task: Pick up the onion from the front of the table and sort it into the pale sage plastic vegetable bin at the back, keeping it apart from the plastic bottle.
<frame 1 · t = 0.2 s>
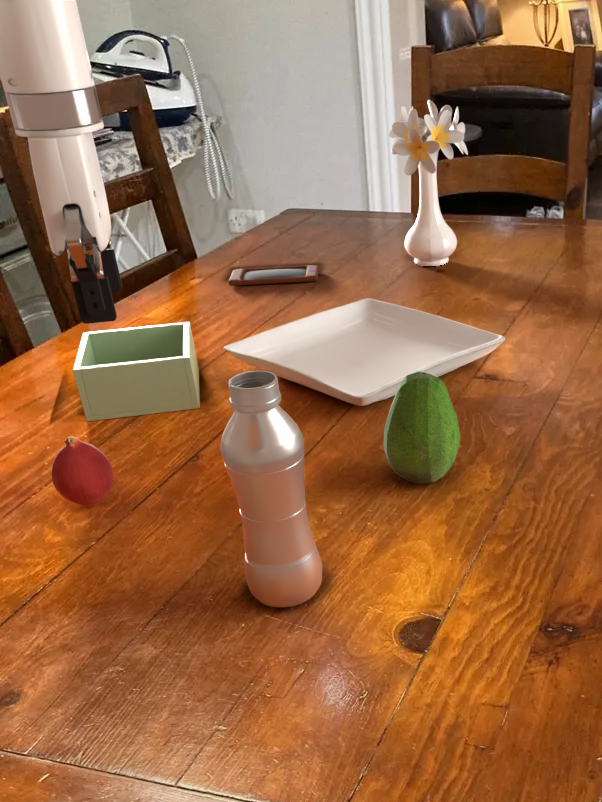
hand: (103, 305, 92), 18 cm above the table, tool pointing down, fingers open, 9 cm apart
flower vase: (433, 264, 166), on the table
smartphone: (275, 279, 161), on the table
onion: (92, 508, 97), on the table
avocado: (424, 480, 99), on the table
veg bin: (145, 394, 121), on the table
plastic bottle: (287, 597, 82), on the table
square plate: (366, 367, 126), on the table
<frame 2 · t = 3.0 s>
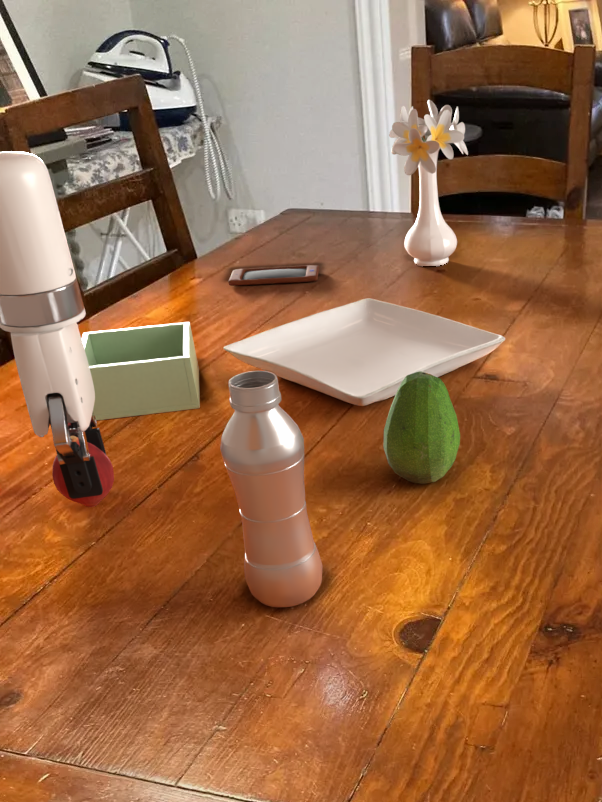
hand: (89, 478, 95), 3 cm above the table, tool pointing down, fingers closed on onion, 5 cm apart
onion: (93, 507, 97), on the table, touching gripper
everything else where it was.
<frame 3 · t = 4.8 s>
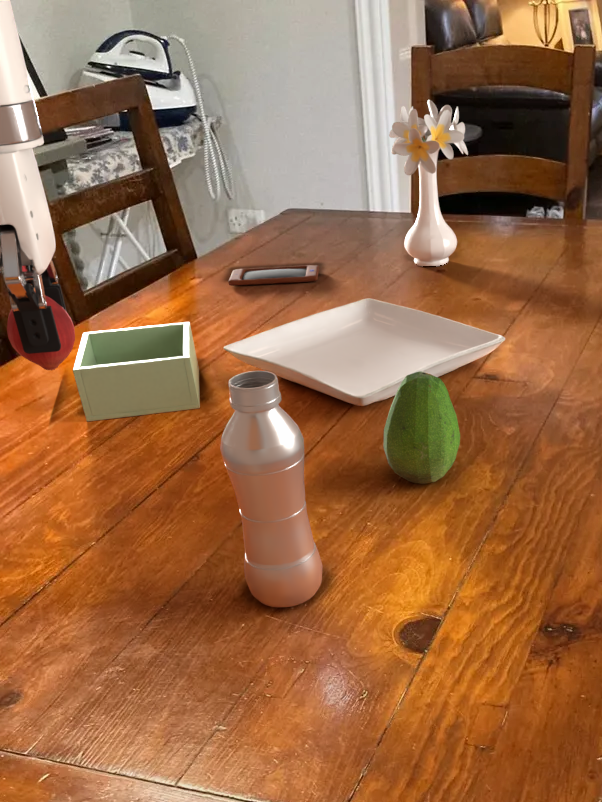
hand: (47, 337, 88), 17 cm above the table, tool pointing down, fingers closed on onion, 5 cm apart
onion: (52, 371, 90), point 14 cm above the table, touching gripper
everything else where it was.
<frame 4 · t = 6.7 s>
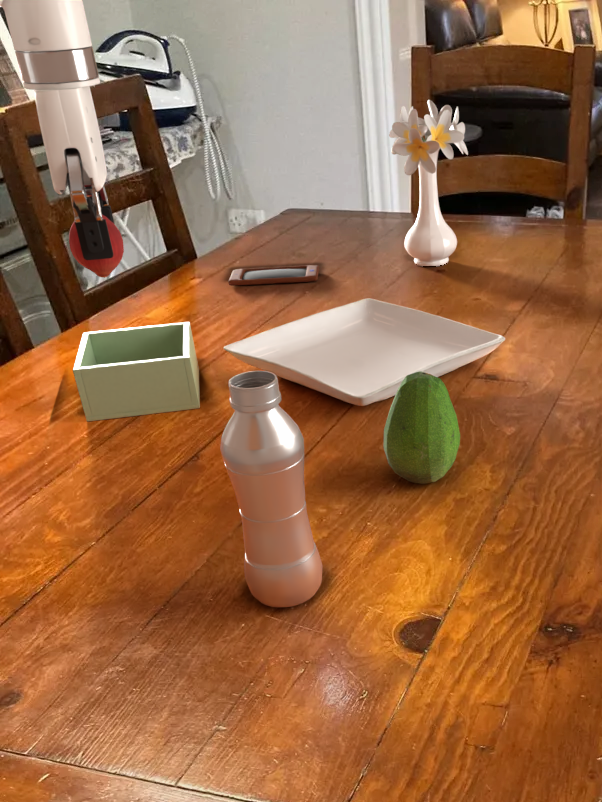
hand: (101, 249, 106), 19 cm above the table, tool pointing down, fingers closed on onion, 5 cm apart
onion: (104, 278, 108), point 16 cm above the table, touching gripper
everything else where it was.
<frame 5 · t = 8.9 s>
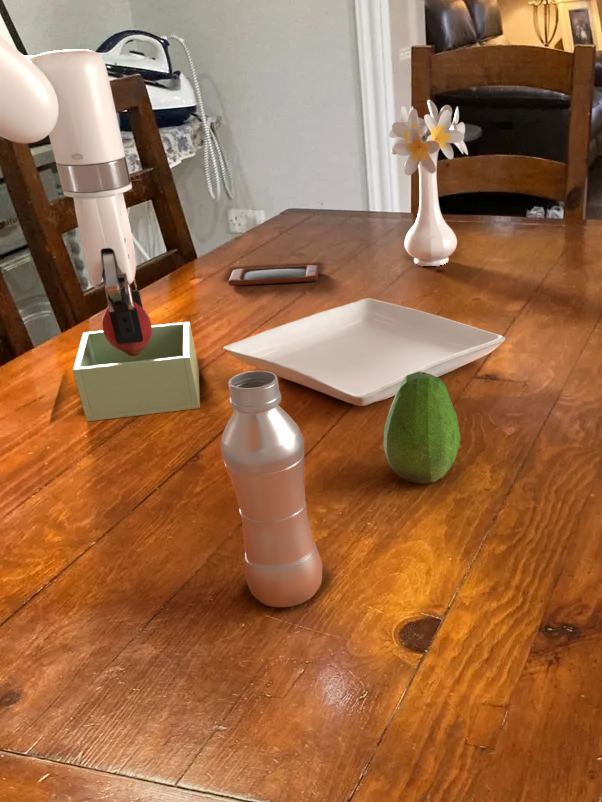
hand: (131, 331, 116), 8 cm above the table, tool pointing down, fingers closed on onion, 5 cm apart
onion: (134, 357, 118), point 5 cm above the table, touching gripper
everything else where it was.
when the fingers open (5 cm above the table, at t = 11.2 s): onion stays where it is, resting on veg bin.
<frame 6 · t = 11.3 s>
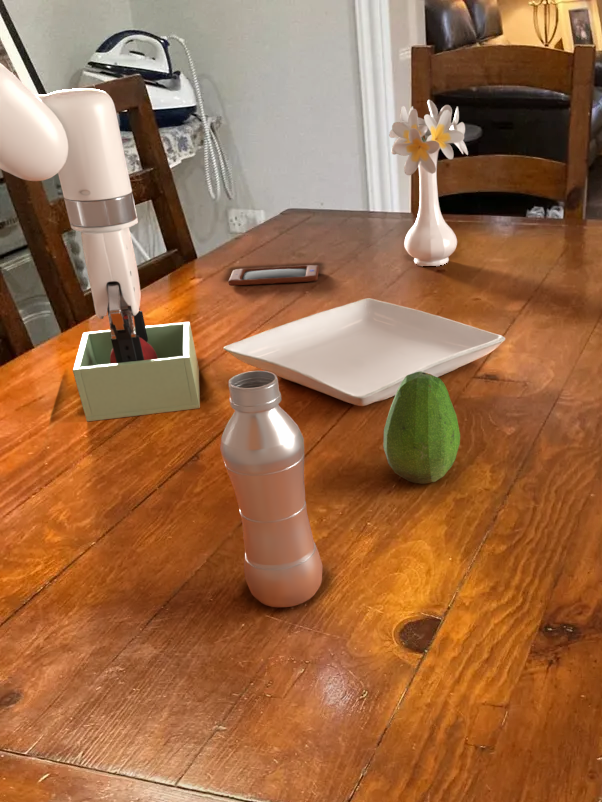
hand: (134, 355, 118), 5 cm above the table, tool pointing down, fingers open, 9 cm apart
onion: (141, 391, 120), resting on veg bin
everything else where it was.
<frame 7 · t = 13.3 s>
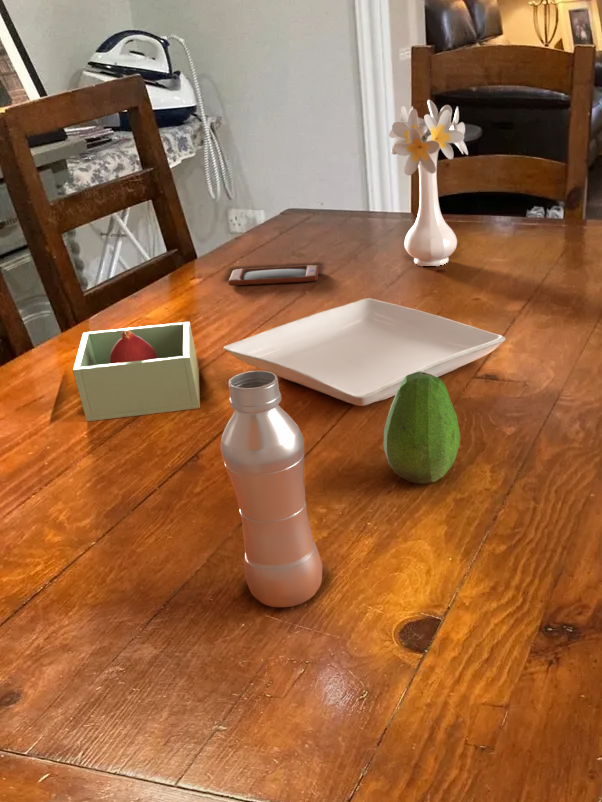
nothing on the table moved.
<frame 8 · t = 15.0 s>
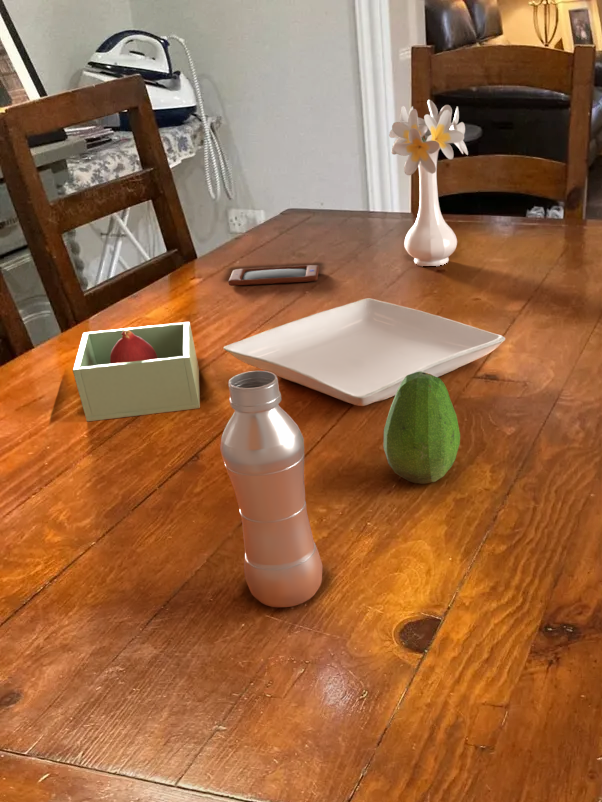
nothing on the table moved.
at the end: onion inside the target area in the veg bin (0.5 cm from its centre), point 0.4 cm above the veg bin's base; the gripper is holding nothing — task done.
